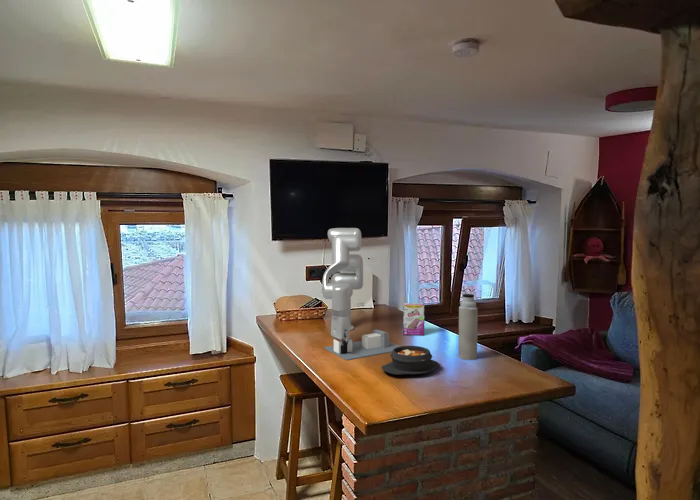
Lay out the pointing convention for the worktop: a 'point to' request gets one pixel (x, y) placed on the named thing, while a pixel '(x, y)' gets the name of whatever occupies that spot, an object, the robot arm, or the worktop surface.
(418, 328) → the candy bar box
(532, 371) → the worktop surface
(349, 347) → the white and peach box
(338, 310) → the robot arm
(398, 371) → the casserole
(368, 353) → the grey board with blocks
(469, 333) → the thermos bottle
